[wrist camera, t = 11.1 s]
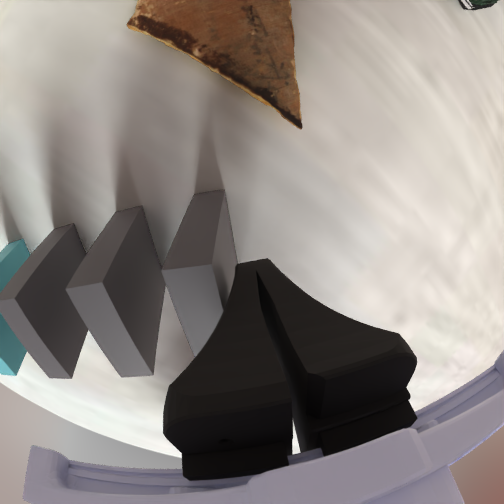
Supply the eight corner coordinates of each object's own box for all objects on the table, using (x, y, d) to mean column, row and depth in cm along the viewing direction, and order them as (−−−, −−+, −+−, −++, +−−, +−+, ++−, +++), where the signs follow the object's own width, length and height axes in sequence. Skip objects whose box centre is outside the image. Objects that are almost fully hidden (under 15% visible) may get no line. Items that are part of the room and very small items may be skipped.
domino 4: (224, 189, 14) (211, 264, 8) (238, 270, 17) (238, 366, 11) (194, 194, 14) (160, 270, 8) (212, 273, 17) (200, 369, 11)
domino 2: (73, 223, 14) (14, 298, 8) (103, 292, 16) (72, 378, 10) (53, 229, 14) (-7, 301, 8) (84, 295, 16) (49, 378, 10)
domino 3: (142, 205, 14) (102, 282, 8) (166, 281, 17) (153, 375, 11) (115, 212, 14) (65, 289, 8) (142, 285, 17) (121, 377, 11)
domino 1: (22, 238, 14) (-35, 306, 8) (53, 299, 16) (16, 375, 10) (8, 243, 14) (-47, 308, 8) (38, 302, 16) (1, 374, 10)
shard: (293, 126, 14) (304, 130, 12) (147, 147, 13) (140, 152, 12) (274, -45, 8) (282, -59, 7) (131, -29, 8) (123, -41, 6)
